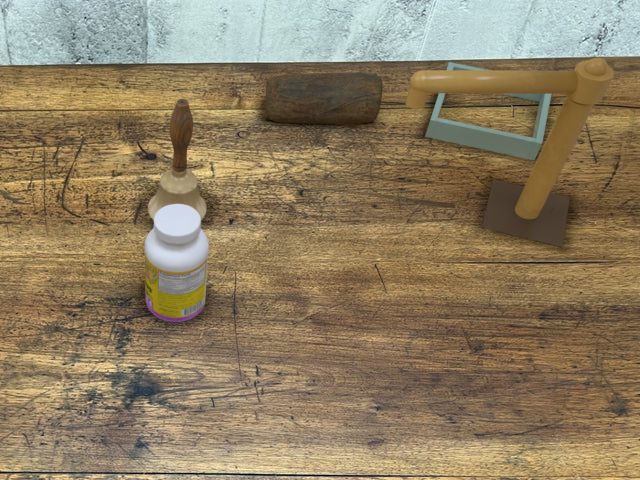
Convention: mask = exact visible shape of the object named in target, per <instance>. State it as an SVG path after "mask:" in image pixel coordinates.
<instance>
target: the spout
mask: <svg viewBox="0 0 640 480" xmlns="http://www.w3.org/2000/svg"><path fill="white" fill-rule="evenodd" d="M614 75H615V71H614V69H613V68H612V66H610V65H608V62H607V60H606V59H604V58H603V57H594V58H591V59H588V60H587V59H586V60H581V61H580V62H578V63H577V64H576V65H575V68H574V70H492V71H481V70H447V69H446V70H445V69H440V70H438V69H436V70H435V69H434V70H433V69H426V70H425V69H423V70H422V69H421V70H418V71H416V72H415V73H413V74H412V75H411V78H410V80H409V81H410V82H409V87H408V91H407V95H406V98H405V101H404V103H405V105H406V106H407V107H408V108H409V109H412V110H420V109H423V108H424V107H425V105H426V103H427V99H428V96H429V94H439V93H445V94H499V93H505V94H553V95H566V97H568V98H569V99H571V100H572V101H574V102H577V103H580V104H585V105H592V104H594V105H596V104H599V103H600V102H601V101H602V100H603V97H604V96H605V94H606V92H607V90H608V88H609V86H610V84H611V83H612V80H613V78H614Z"/></svg>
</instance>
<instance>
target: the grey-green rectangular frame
mask: <svg viewBox="0 0 640 480" xmlns="http://www.w3.org/2000/svg"><path fill="white" fill-rule="evenodd" d="M446 70H481V71H493V70H492V69H487V68H482V67H476V66H470V65H466V64H461V63H456V62H452V61H449V62H448V64H447V67H446ZM498 94H499V95H505V96H510V97H514V98H519V99H523V100H528V101H529V100H530V101H534V102H538V107H537V112H536V117H535V120H534V121H535V122H534V127H533V130H532V136H527V135H522V134H517V133H513V132H507V131H503V130H499V129H493V128H488V127H484V126H480V125H475V124H470V123H466V122H462V121H455V120H451V119H446V118H443V117H439V115H440V113H441V110H442V106H443V102H444V99H445V96H446V93H438V95H437V98H436V101H435V104H434V107H433V110H432V114H431V116H430V120H429V123H428V126H427V129H426V131H425V135H424V138H429V139H433V140H439V141H443V142H448V143H453V144H457V145H461V146H465V147H471V148H475V149H479V150H484V151H489V152H494V153H498V154H502V155H507V156H512V157H514V158H515V157H516V158H521V159H525V160H530V161H536V158H537V156H538V154H539V153H540V151H541V150H540V149H541V148H542V145H543V141H544V136H545V132H546V127H547V126H546V125H547V121H548V116H549V109H550V104H551V100H552V94H505V93H498Z"/></svg>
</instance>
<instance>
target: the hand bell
mask: <svg viewBox="0 0 640 480" xmlns="http://www.w3.org/2000/svg"><path fill="white" fill-rule="evenodd" d="M193 132H194V118H193V113H192V110H191V108H190V104H189V100H188V99H186V98H179V99H178V100H176V103H175V106H174V108H173V110H172V113H171V117H170V120H169V137H170V138H169V139H170V142H171V145H172V149H173V154H172V164H171V168H170V169H168V170H165V172H163V173H162V175H160V178H159V183H158V188H157V192H156V194H155V195H153V196H152V197H151V199H150V200H149V201H148V204H147V212H148V215H149V216H150V218H151V219H152V220H153V221H154V217H155V215H156V213H157V212H158V211H159V210H160V209H161V208H163V207H165V206H167V205H171V204H184V205H188V206H190V207H192V208H194V209H195V210H196V211H197V212H198V213H199V215H200V218H201V220H203V219H204V217H205V215H206V214H207V204H206V201H205V199H204V198H203V197H202V196H201V194H200V192H199V191H200V190H199V184H198V182H199V181H198V177H197V176H196V174H195V173H194V172H193V171H191V170H189V169H188V149H189V145H190V143H191V140H192V138H193Z"/></svg>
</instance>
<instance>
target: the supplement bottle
mask: <svg viewBox="0 0 640 480" xmlns="http://www.w3.org/2000/svg"><path fill="white" fill-rule="evenodd" d="M209 251H210V242H209V238H208V236H207V234H206V233H205V231H204V230H203V229H202V219H201V218H200V215H199V213H198V212H197V211H196V210H195V209H194V208H192V207H190V206H188V205H184V204H171V205H167V206H165V207H163V208H161V209H160V210H159V211H158V212H157V213H156V215H155V217H154V220H153V228H152V229H151V230H150V231H149V233H148V234H147V236H146V238H145V241H144V287H145V288H144V291H145V292H144V293H145V294H144V295H145V304H146V306H147V309H148V310H149V311H150V312H151V313H152V315H154V316H155V317H156V318H158V319H161V320H164V321H167V322H174V323H177V322H178V323H179V322H185V321H189V320H190V319H193V318H195V317H196V316H197V315H199V314H200V313H201V312H202V311H203V309H204V307H205V304H206V297H207V296H206V295H207V294H206V293H207V282H208V281H207V279H208V266H209V265H208V264H209Z"/></svg>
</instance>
